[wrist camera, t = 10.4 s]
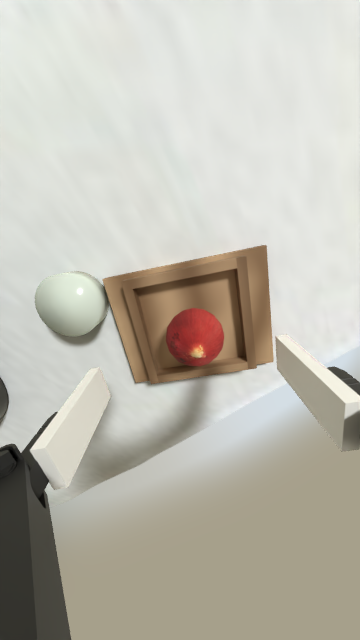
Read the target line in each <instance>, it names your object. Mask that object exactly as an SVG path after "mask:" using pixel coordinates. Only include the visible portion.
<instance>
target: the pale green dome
mask: <svg viewBox="0 0 360 640" xmlns="http://www.w3.org/2000/svg"><path fill="white" fill-rule="evenodd" d="M35 305H36V309H37V312H38V314H39V316H40V318H41V319H42V321H43V322H44V323H45V324H46V325H47V326H48V327H49V328H50V329H52V330H53V331H55V332H57V333H59V334H62V335H65V336H71V337H76V336H81V335H84V334H86V333H88V332H90V331H91V330H92V329H93V328H94V327H95V326H97V325H98V324H99V323H100V322H101V321H102V320H103V319H104V318H105V317H106V315H107V313H108V309H109V298H108V295H107V292H106V290H105V288H104V287H103V285H102V284H101V283H100V282H99V281H98V280H97V279H96V278H94V277H93V276H91V275H89V274H87V273H84V272H79V271H73V272H67V273H62V274H58V275H53V276H50V277H48V278H46V279H45V280H43V281H42V282H41V283H40V285H39V286H38V288H37V290H36V294H35Z"/></svg>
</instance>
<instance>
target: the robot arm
mask: <svg viewBox="0 0 360 640" xmlns="http://www.w3.org/2000/svg"><path fill="white" fill-rule="evenodd" d="M275 337H276V356H277V369H278V371H279V372H280V373H281V375H282V376H283V377H284V378H285V380H286V381H287V382H288V384H289V385H290V386H291V387H292V389H293V390H294V391H295V393H296V394H297V395H298V396H299V398H300V399H301V400H302V402H303V403H304V404H305V405H306V407H307V408H308V409H309V411H310V412H311V413H312V414H313V415H314V417H315V418H316V419H317V421H318V422H319V423H320V425H321V426H322V427H323V428H324V430H325V431H326V432H327V434H328V435H329V436H330V438H331V439H332V440H333V441H334V442H335V444H336V445H337V447H338V448H339V449H340V450H341V452H342V451H350V450H358V449H359V447H360V383H359V382H358V381H357V380H356V379H354V378H353V377H352V376H351V375H349V374H348V373H347V372H345V371H344V370H341V369H339V368H337V367H328V368H326V367H325V366H324V365H322V364H321V363H320V362H319V361H318V360H316V359H315V358H314V357H313V356H312V355H310V354H309V353H308V352H307V351H306V350H305V349H303V348H302V347H301V346H300V345H299V344H297V343H296V342H295V341H294V340H293V339H291V338H290V337H289V336H288V335H287V334H286V335H280V336H275ZM110 398H111V395H110V392H109V389H108V387H107V384H106V382H105V379H104V376H103V374H102V371H101V369H100V367H98V368H92V369H90V370H89V371H88V373H87V374H86V375H85V377H84V378H83V379H82V381H81V382H80V383H79V385H78V386H77V387H76V389H75V390H74V391H73V393H72V394H71V395H70V397H69V398H68V399H67V401H66V402H65V404H64V405H63V406H62V408H61V409H60V410H59V412H55V413H54V414H53V415H52V416H51V417H50V418H48V419H47V421H46V422H45V423H44V425H43V426H42V428H40V430H39V431H38V432H37V434H36V435H35V436H34V437H33V439H32V440H31V441H30V443H29V444H28V445H27V446H26V448H25V449H24V450H23V452H22V453H20V451H19V450H18V448H17V446H16V445H15V444H9V445H5V446H3V447H1V448H0V640H71V636H70V630H69V624H68V618H67V612H66V606H65V600H64V594H63V588H62V582H61V576H60V570H59V564H58V558H57V552H56V545H55V539H54V533H53V528H52V521H51V515H50V509H49V503H48V497H47V494H46V492H45V488H46V486H47V484H48V482H49V483H50V484H51V486H52V488H53V489H54V490H55V489H62V488H68V487H69V485H70V483H71V480H72V478H73V476H74V474H75V472H76V470H77V468H78V466H79V464H80V461H81V459H82V457H83V455H84V453H85V451H86V449H87V447H88V444H89V442H90V440H91V438H92V436H93V434H94V432H95V430H96V427H97V425H98V423H99V421H100V419H101V417H102V415H103V413H104V410H105V408H106V406H107V404H108V402H109V400H110ZM7 405H8V397H7V392H6V389H5V386H4V384H3V382H2V380H1V379H0V419H1V418H2V417H3V416H4V414H5V412H6V409H7Z"/></svg>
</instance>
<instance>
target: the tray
mask: <svg viewBox="0 0 360 640" xmlns="http://www.w3.org/2000/svg"><path fill="white" fill-rule="evenodd" d="M102 280H103V283H104V286H105V289H106V292H107V295H108V298H109V301H110V304H111V308H112V311H113V314H114V317H115V320H116V323H117V326H118V329H119V332H120V335H121V338H122V342H123V345H124V348H125V351H126V354H127V357H128V360H129V363H130V366H131V369H132V372H133V375H134V379H135V382H136V383H138V382H144V381H150V382H151V384H155V383H161V382H168V381H175V380H181V379H188V378H195V377H201V376H208V375H215V374H221V373H228V372H235V371H241V370H248V369H255V368H257V366H256V364H263V363H269V362H273V345H272V328H271V312H270V295H269V279H268V262H267V246H266V245H262V246H257V247H253V248H248V249H243V250H238V251H233V252H229V253H224V254H219V255H214V256H209V257H204V258H200V259H195V260H190V261H185V262H180V263H176V264H171V265H166V266H161V267H156V268H151V269H147V270H142V271H137V272H132V273H127V274H123V275H118V276H113V277H108V278H105V279H102ZM190 308H198V309H204V310H206V311H208V312H209V313H211V314H213V315H214V316H215V317H216V318H217V320H218V321H219V322H220V323H221V325H222V328H223V332H224V344H223V348H222V350H221V351H220V353H219V354H218V356H217V357H216V358H215V359H214V360H213V361H211V362H210V363H209V364H206V365H203V366H188V365H185V364H183V363H180V362H178V361H177V360H176V359H175V358H174V356H173V355H172V354H171V353H170V352H169V349H168V346H167V343H166V333H167V327H168V325H169V324H170V322H171V321H172V319H173V318H174V316H176V315H177V314H179V313H180V312H181V311H183V310H187V309H190Z"/></svg>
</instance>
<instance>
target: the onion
mask: <svg viewBox="0 0 360 640" xmlns="http://www.w3.org/2000/svg"><path fill="white" fill-rule="evenodd" d="M166 343H167V346H168V349H169V352H170V353H171V354H172V355H173V356H174V358H175V359H176V360H177V361H178V362H180V363H183V364H185V365H188V366H203V365H206V364H209V363H210V362H211V361H213V360H214V359H215V358H216V357H217V356H218V354H219V353H220V351H221V350H222V348H223V344H224V332H223V328H222V325H221V323H220V322H219V321H218V320H217V318H216V317H215V316H214V315H213V314H211V313H209V312H208V311H206V310H204V309H198V308H190V309H187V310H183V311H181V312H180V313H179V314H177V315H176V316H174V318H173V319H172V321H171V322H170V324H169V325H168V327H167V333H166Z"/></svg>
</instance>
